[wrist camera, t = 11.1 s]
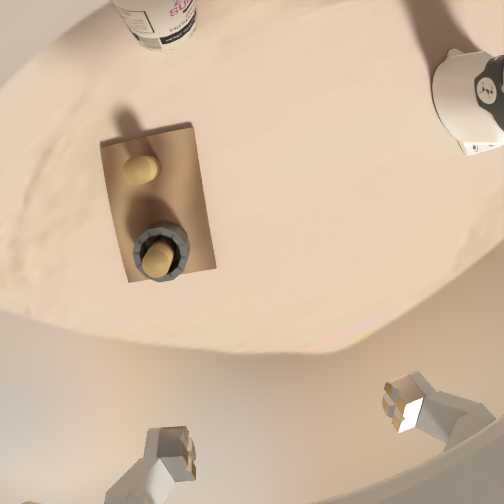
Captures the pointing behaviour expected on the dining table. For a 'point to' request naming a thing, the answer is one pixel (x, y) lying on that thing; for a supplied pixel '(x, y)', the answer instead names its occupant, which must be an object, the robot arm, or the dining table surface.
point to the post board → (158, 200)
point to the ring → (169, 231)
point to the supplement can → (159, 21)
